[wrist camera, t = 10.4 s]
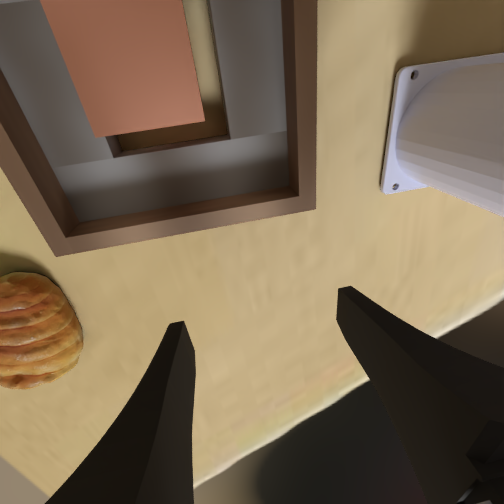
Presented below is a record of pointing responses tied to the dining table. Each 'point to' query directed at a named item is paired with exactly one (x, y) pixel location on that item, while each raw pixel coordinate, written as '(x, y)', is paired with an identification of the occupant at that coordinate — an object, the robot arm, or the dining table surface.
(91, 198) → the socket box
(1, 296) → the pastry
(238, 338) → the dining table surface
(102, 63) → the peg
